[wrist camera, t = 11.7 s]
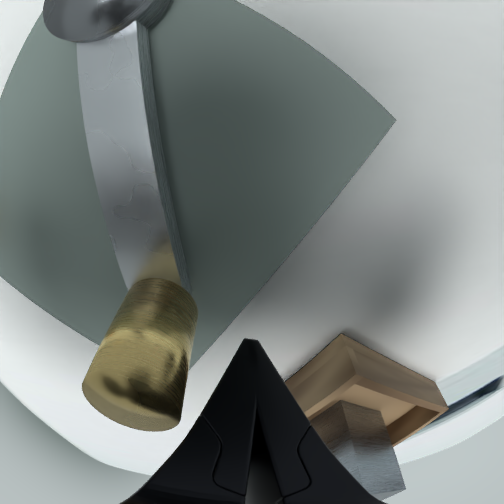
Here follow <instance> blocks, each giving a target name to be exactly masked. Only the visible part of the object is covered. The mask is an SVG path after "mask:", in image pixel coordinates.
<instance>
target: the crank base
mask: <svg viewBox="0 0 504 504" xmlns="http://www.w3.org/2000/svg"><path fill="white" fill-rule="evenodd" d="M148 38H149V49H150V60H151V69H152V78H153V86H154V94H155V102H156V109H157V116H158V123H159V130H160V136H161V142H162V149H163V154H164V160H165V166H166V172H167V177H168V182H169V188H170V193H171V198H172V203H173V208H174V212H175V217H176V222H177V227H178V231H179V236H180V240H181V244H182V249H183V253H184V257H185V262H186V266H187V270H188V274H189V278H190V282H191V286H192V290H193V291H192V295H191V296H192V298H193V299H194V301H195V303H196V305H197V308H198V320H197V326H196V331H195V336H194V342H193V347H192V353H191V359H190V364H189V370H190V369H191V367H192V366H193V365H194V364H195V363H196V362H197V361H198V360H199V359H200V357H201V356H202V355H203V354H204V353H205V352H206V351H207V350H208V349H209V347H210V346H211V345H212V344H213V343H214V342H215V341H216V340H217V338H218V337H219V336H220V335H221V334H222V333H223V332H224V331H225V329H226V328H227V327H228V326H229V325H230V324H231V323H232V321H233V320H234V319H235V318H236V317H237V316H238V315H239V313H240V312H241V311H242V310H243V309H244V308H245V307H246V305H247V304H248V303H249V302H250V301H251V300H252V298H253V297H254V296H255V295H256V294H257V293H258V291H259V290H260V289H261V288H262V287H263V286H264V284H265V283H266V282H267V281H268V280H269V279H270V277H271V276H272V275H273V274H274V273H275V271H276V270H277V269H278V268H279V267H280V266H281V264H282V263H283V262H284V261H285V260H286V258H287V257H288V256H289V255H290V254H291V252H292V251H293V250H294V249H295V248H296V246H297V245H298V244H299V243H300V242H301V240H302V239H303V238H304V237H305V236H306V234H307V233H308V232H309V231H310V229H311V228H312V227H313V226H314V225H315V223H316V222H317V221H318V220H319V218H320V217H321V216H322V215H323V213H324V212H325V211H326V210H327V209H328V207H329V206H330V205H331V204H332V202H333V201H334V200H335V199H336V197H337V196H338V195H339V194H340V192H341V191H342V190H343V189H344V187H345V186H346V185H347V184H348V182H349V181H350V180H351V178H352V177H353V176H354V175H355V173H356V172H357V171H358V170H359V168H360V167H361V166H362V164H363V163H364V162H365V161H366V159H367V158H368V157H369V155H370V154H371V153H372V152H373V150H374V149H375V148H376V146H377V145H378V144H379V142H380V141H381V140H382V139H383V137H384V136H385V135H386V133H387V132H388V131H389V129H390V128H391V127H392V125H393V124H394V123H395V121H396V119H395V118H394V117H393V116H392V115H391V114H390V113H389V112H388V111H387V110H386V109H385V108H384V107H383V106H382V105H381V104H380V103H379V102H378V101H377V100H376V99H375V98H373V97H372V96H371V95H370V94H369V93H368V92H367V91H366V90H365V89H364V88H363V87H361V86H360V85H359V84H358V83H357V82H356V81H355V80H353V79H352V78H351V77H350V76H349V75H347V74H346V73H345V72H344V71H343V70H341V69H340V68H339V67H338V66H336V65H335V64H334V63H333V62H331V61H330V60H329V59H327V58H326V57H325V56H323V55H322V54H321V53H319V52H318V51H317V50H315V49H314V48H313V47H311V46H310V45H308V44H307V43H306V42H304V41H303V40H301V39H300V38H298V37H297V36H295V35H294V34H292V33H291V32H289V31H288V30H286V29H284V28H283V27H281V26H280V25H278V24H276V23H275V22H273V21H272V20H270V19H268V18H266V17H265V16H263V15H261V14H259V13H258V12H256V11H254V10H252V9H250V8H249V7H247V6H245V5H243V4H241V3H239V2H237V1H235V0H171V2H170V4H169V6H168V7H167V9H166V11H165V12H164V13H163V15H162V16H161V17H160V18H159V19H158V20H157V21H156V22H155V23H154V24H153V25H152V26H151V27H150V28H149V29H148ZM0 276H1V277H2V278H3V279H4V280H6V281H7V282H8V283H9V284H10V285H12V286H13V287H14V288H15V289H17V290H18V291H19V292H20V293H22V294H23V295H24V296H26V297H27V298H28V299H30V300H31V301H32V302H34V303H35V304H36V305H38V306H39V307H41V308H42V309H43V310H45V311H46V312H48V313H49V314H51V315H52V316H53V317H55V318H56V319H58V320H59V321H61V322H62V323H64V324H65V325H67V326H69V327H70V328H72V329H73V330H75V331H76V332H78V333H80V334H81V335H83V336H84V337H86V338H88V339H89V340H91V341H93V342H95V343H96V344H98V345H100V344H101V342H102V340H103V338H104V336H105V334H106V332H107V330H108V328H109V327H110V325H111V323H112V321H113V319H114V317H115V315H116V313H117V311H118V309H119V307H120V306H121V304H122V302H123V300H124V298H125V296H126V295H127V293H128V289H127V287H126V284H125V281H124V278H123V275H122V273H121V270H120V267H119V264H118V261H117V258H116V255H115V252H114V249H113V245H112V242H111V239H110V236H109V232H108V229H107V225H106V222H105V218H104V215H103V211H102V207H101V203H100V199H99V195H98V191H97V187H96V183H95V179H94V174H93V170H92V165H91V160H90V155H89V150H88V144H87V139H86V133H85V126H84V120H83V113H82V105H81V97H80V88H79V77H78V64H77V43H73V42H70V41H67V40H63V39H60V38H57V37H55V36H54V35H52V34H51V33H50V32H49V31H48V29H47V28H46V26H45V23H44V19H43V11H42V13H41V15H40V16H39V18H38V20H37V21H36V23H35V25H34V27H33V28H32V30H31V32H30V34H29V35H28V37H27V39H26V41H25V43H24V45H23V47H22V49H21V51H20V53H19V55H18V57H17V59H16V61H15V64H14V66H13V68H12V70H11V73H10V75H9V77H8V80H7V82H6V85H5V87H4V90H3V93H2V95H1V98H0ZM189 370H188V371H189Z"/></svg>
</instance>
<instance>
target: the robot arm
mask: <svg viewBox="0 0 504 504" xmlns="http://www.w3.org/2000/svg"><path fill="white" fill-rule="evenodd" d="M310 425H311V423H310V421H309V420H308V418H307V417H306V415H305V414H304V412H303V410H302V409H301V407H300V406H299V404H298V403H297V401H296V400H295V398H294V397H293V395H292V394H291V392H290V390H289V389H288V387H287V386H286V384H285V383H284V381H283V379H282V378H281V376H280V375H279V373H278V371H277V370H276V368H275V367H274V365H273V363H272V362H271V360H270V359H269V357H268V355H267V354H266V352H265V351H264V349H263V347H262V346H261V344H260V342H259V341H258V340H255V339H248V338H245V339H243V341H242V343H241V345H240V346H239V348H238V350H237V352H236V353H235V355H234V357H233V359H232V361H231V362H230V364H229V366H228V368H227V369H226V371H225V373H224V375H223V376H222V378H221V380H220V382H219V383H218V385H217V387H216V388H215V390H214V392H213V394H212V395H211V397H210V399H209V400H208V402H207V404H206V406H205V407H204V409H203V411H202V412H201V414H200V416H199V417H198V419H197V420H196V422H195V424H194V425H193V427H192V428H191V430H190V431H189V433H188V434H187V436H186V437H185V439H184V440H183V441H182V443H181V444H180V445H179V446H178V448H177V449H176V450H175V451H174V452H173V454H172V455H171V456H170V457H169V458H168V459H167V460H166V461H165V463H164V464H163V465H162V466H161V467H160V468H159V469H158V470H157V471H156V472H155V473H154V475H153V476H152V477H151V478H150V479H149V480H148V481H147V482H146V483H145V484H144V485H143V486H142V487H141V488H140V489H139V490H138V491H136V492H135V493H134V494H133V495H132V496H130V497H129V498H128V499H126V500H125V501H123V502H121V503H120V504H386V503H384V502H382V501H380V500H379V499H377V498H375V497H374V496H373V495H371V494H370V493H369V492H368V491H367V490H366V489H365V488H364V487H363V486H362V485H361V484H360V483H359V482H358V481H357V480H356V479H355V478H354V477H353V476H352V474H351V473H350V472H349V471H348V470H347V469H346V468H345V467H344V466H343V465H342V464H341V462H340V461H339V460H338V459H337V458H336V457H335V455H334V454H333V453H332V452H331V451H330V450H329V448H328V447H327V446H326V444H325V443H324V441H323V440H322V439H321V437H320V436H319V435H318V433H317V432H316V430H315V429H314V427H313V426H312V425H311V426H310Z"/></svg>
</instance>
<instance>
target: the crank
mask: <svg viewBox="0 0 504 504" xmlns="http://www.w3.org/2000/svg"><path fill="white" fill-rule="evenodd" d="M170 2H171V0H45V2H44V7H43V19H44V23H45V26H46V28H47V29H48V31H49V32H50V33H51V34H52V35H54V36H55V37H57V38H60V39H63V40H67V41H70V42H73V43H77V64H78V77H79V88H80V97H81V105H82V113H83V120H84V126H85V133H86V139H87V144H88V150H89V155H90V160H91V165H92V170H93V174H94V179H95V183H96V187H97V191H98V195H99V199H100V203H101V207H102V211H103V215H104V218H105V222H106V225H107V229H108V232H109V236H110V239H111V242H112V245H113V249H114V252H115V255H116V258H117V261H118V264H119V267H120V270H121V273H122V275H123V278H124V281H125V284H126V287H127V289H128V293H127V295H126V296H125V298H124V300H123V302H122V304H121V306H120V307H119V309H118V311H117V313H116V315H115V317H114V319H113V321H112V323H111V325H110V327H109V328H108V330H107V332H106V334H105V336H104V338H103V340H102V342H101V344H100V346H99V348H98V351H97V353H96V355H95V357H94V359H93V361H92V363H91V365H90V367H89V370H88V372H87V374H86V376H85V378H84V381H83V383H82V391H83V393H84V396H85V397H86V399H87V400H88V402H89V403H90V404H91V405H92V406H93V407H94V408H95V409H96V410H98V411H99V412H100V413H101V414H103V415H104V416H106V417H108V418H109V419H111V420H113V421H115V422H117V423H119V424H122V425H124V426H127V427H130V428H134V429H138V430H143V431H165V430H169V429H172V428H174V427H176V426H177V425H178V424H179V422H180V420H181V413H182V407H183V400H184V394H185V388H186V382H187V376H188V370H189V364H190V359H191V353H192V347H193V342H194V336H195V331H196V326H197V320H198V308H197V305H196V303H195V301H194V299H193V298H192V296H191V295H192V291H193V290H192V286H191V282H190V278H189V274H188V270H187V266H186V262H185V257H184V253H183V249H182V244H181V240H180V236H179V231H178V227H177V222H176V217H175V212H174V208H173V203H172V198H171V193H170V188H169V182H168V177H167V172H166V166H165V160H164V154H163V149H162V142H161V136H160V130H159V123H158V116H157V109H156V102H155V94H154V86H153V78H152V69H151V60H150V49H149V38H148V29H149V28H150V27H151V26H152V25H153V24H154V23H155V22H156V21H157V20H158V19H159V18H160V17H161V16H162V15H163V13H164V12H165V11H166V9H167V7H168V6H169V4H170Z"/></svg>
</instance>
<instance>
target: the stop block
mask: <svg viewBox="0 0 504 504" xmlns="http://www.w3.org/2000/svg"><path fill="white" fill-rule="evenodd" d="M310 423H311V425H312V426H313V427H314V429H315V430H316V432H317V433H318V435H319V436H320V437H321V439H322V440H323V441H324V443H325V444H326V446H327V447H328V448H329V450H330V451H331V452H332V453H333V454H334V455H335V457H336V458H337V459H338V460H339V461H340V462H341V464H342V465H343V466H344V467H345V468H346V469H347V470H348V471H349V472H350V473H351V474H352V476H353V477H354V478H355V479H356V480H357V481H358V482H359V483H360V484H361V485H362V486H363V487H364V488H365V489H366V490H367V491H368V492H369V493H370V494H371V495H373V496H374V497H375V498H377V499H379V500H380V501H381V500H384V499H385V498H388V497H390V496H393V495H394V494H397V493H399V492H401V491H403V490H405V489H406V488H405V484H404V481H403V478H402V474H401V471H400V468H399V464H398V461H397V458H396V455H395V452H394V449H393V446H392V443H391V440H390V437H389V434H388V431H387V428H386V425H385V422H384V420H383V417H382V414H381V411H379V410H375V409H371V408H368V407H364V406H360V405H357V404H354V403H350V402H347V401H344V400H339V401H338V402H337V403H335V404H334V405H332V406H331V407H330V408H328V409H327V410H325V411H324V412H322V413H321V414H319V415H318V416H316V417H315V418H313V419H312V420H310ZM311 425H310V426H311Z"/></svg>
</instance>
